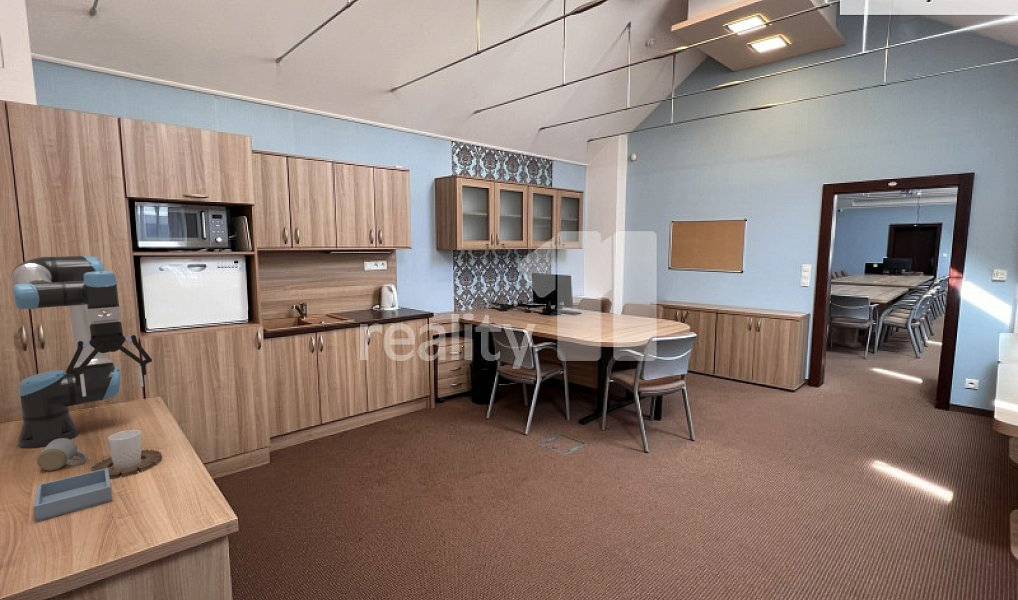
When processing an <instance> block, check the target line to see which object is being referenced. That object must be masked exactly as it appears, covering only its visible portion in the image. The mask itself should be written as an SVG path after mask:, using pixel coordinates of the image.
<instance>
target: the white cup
mask: <svg viewBox="0 0 1018 600" xmlns="http://www.w3.org/2000/svg"><path fill="white" fill-rule="evenodd" d="M107 441H108V447H109V452H110V453H109V454H110V457H111V458H112V461H113V465H112V466H113V469H122V468H127V467H131V466H135V465H137V464H139V463H142V459H141V450H142V432H141V430H139V429H128V430H122V431H118V432H116V433H113V434H111V435H108V437H107Z"/></svg>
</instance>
